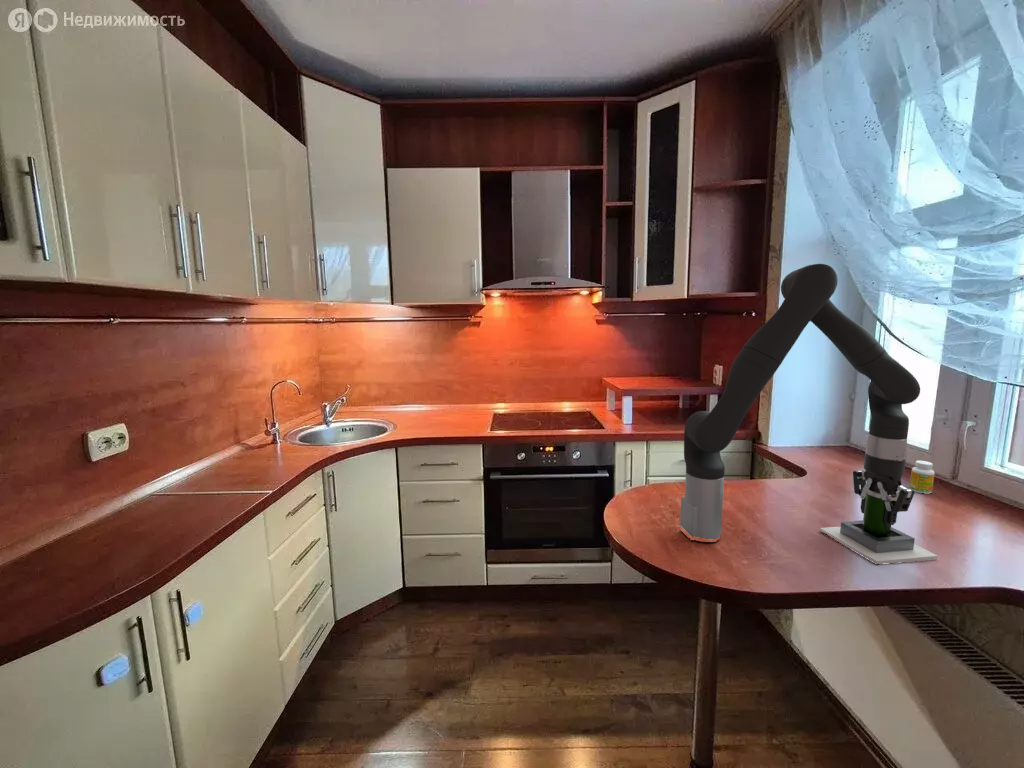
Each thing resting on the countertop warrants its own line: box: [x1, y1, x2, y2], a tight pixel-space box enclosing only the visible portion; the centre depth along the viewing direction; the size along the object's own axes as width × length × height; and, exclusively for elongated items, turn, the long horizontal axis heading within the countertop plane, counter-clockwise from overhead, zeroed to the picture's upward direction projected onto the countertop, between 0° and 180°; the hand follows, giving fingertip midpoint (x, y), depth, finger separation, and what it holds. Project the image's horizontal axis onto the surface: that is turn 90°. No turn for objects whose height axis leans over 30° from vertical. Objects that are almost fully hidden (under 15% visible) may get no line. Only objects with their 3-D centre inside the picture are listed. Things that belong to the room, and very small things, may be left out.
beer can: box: [862, 489, 893, 538], centre depth 107 cm, size 5×5×12 cm
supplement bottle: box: [908, 460, 935, 495], centre depth 139 cm, size 5×5×10 cm
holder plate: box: [819, 525, 939, 564], centre depth 108 cm, size 16×16×1 cm
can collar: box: [840, 519, 915, 553], centre depth 108 cm, size 10×10×3 cm
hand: (877, 518), depth 107 cm, fingers closed on beer can, 5 cm apart
